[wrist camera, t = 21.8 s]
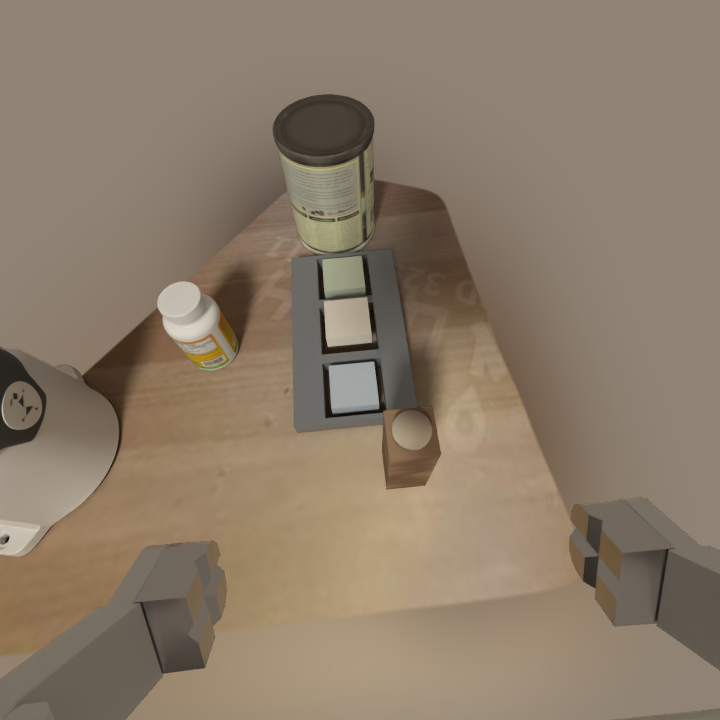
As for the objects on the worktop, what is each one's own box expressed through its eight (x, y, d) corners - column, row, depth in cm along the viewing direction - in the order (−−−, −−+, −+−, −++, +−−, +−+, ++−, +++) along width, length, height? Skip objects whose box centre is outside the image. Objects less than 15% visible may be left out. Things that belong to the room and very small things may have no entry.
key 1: (332, 414, 41) (331, 408, 40) (330, 373, 43) (328, 365, 42) (379, 410, 41) (379, 403, 40) (374, 368, 43) (374, 361, 42)
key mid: (327, 346, 43) (325, 338, 42) (325, 310, 45) (323, 301, 44) (371, 342, 43) (371, 334, 42) (367, 306, 45) (367, 297, 44)
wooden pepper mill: (386, 489, 39) (389, 456, 28) (382, 451, 40) (383, 407, 30) (425, 485, 39) (442, 451, 28) (419, 447, 40) (433, 402, 30)
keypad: (297, 432, 41) (294, 426, 40) (294, 269, 51) (291, 258, 49) (417, 421, 42) (418, 414, 40) (391, 260, 51) (391, 248, 50)
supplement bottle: (212, 322, 48) (176, 266, 39) (249, 341, 47) (220, 288, 38) (181, 358, 46) (136, 308, 37) (219, 380, 45) (181, 332, 36)
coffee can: (288, 211, 56) (262, 106, 44) (360, 192, 57) (356, 84, 45) (307, 267, 51) (285, 167, 39) (386, 245, 53) (388, 142, 40)
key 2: (325, 300, 48) (324, 291, 46) (323, 269, 50) (322, 259, 48) (365, 296, 48) (365, 287, 46) (361, 265, 50) (361, 255, 48)
